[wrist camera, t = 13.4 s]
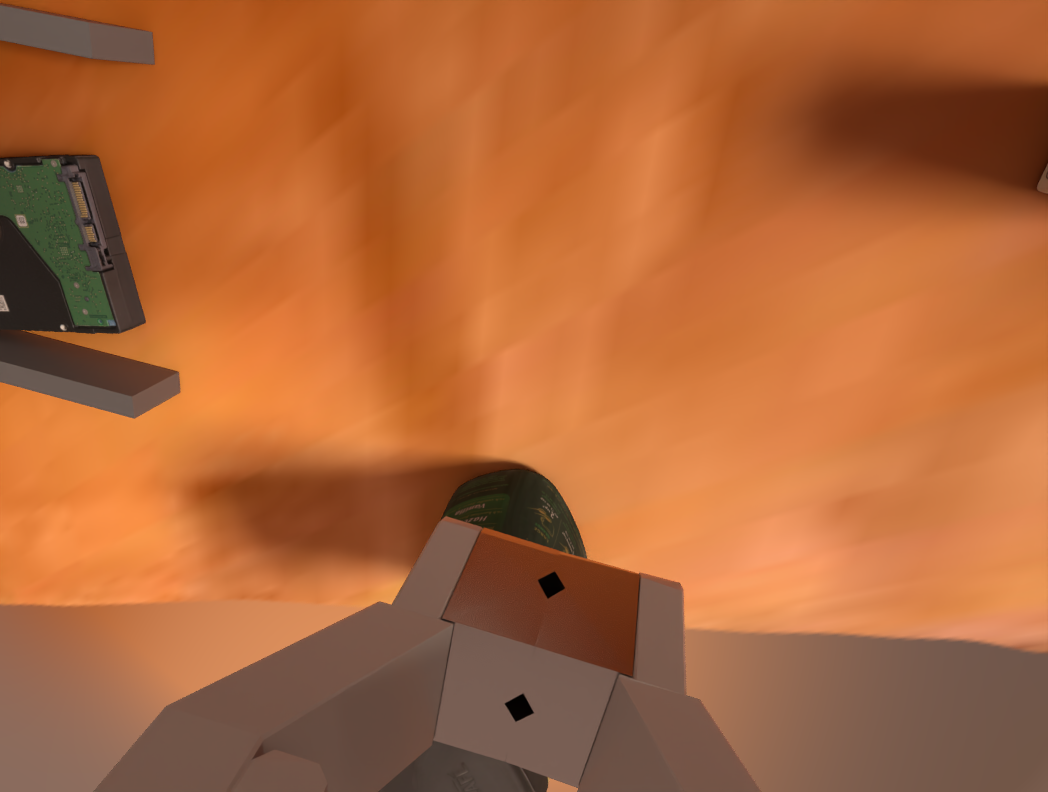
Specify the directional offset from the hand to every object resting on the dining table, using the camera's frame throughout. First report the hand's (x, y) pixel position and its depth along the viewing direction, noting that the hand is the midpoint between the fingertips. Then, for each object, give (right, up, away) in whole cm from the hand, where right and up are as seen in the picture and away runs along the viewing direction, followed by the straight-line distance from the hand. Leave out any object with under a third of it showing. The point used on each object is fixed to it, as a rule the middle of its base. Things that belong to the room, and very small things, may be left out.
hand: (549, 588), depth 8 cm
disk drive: (-31, +12, +32) cm, 47 cm away
